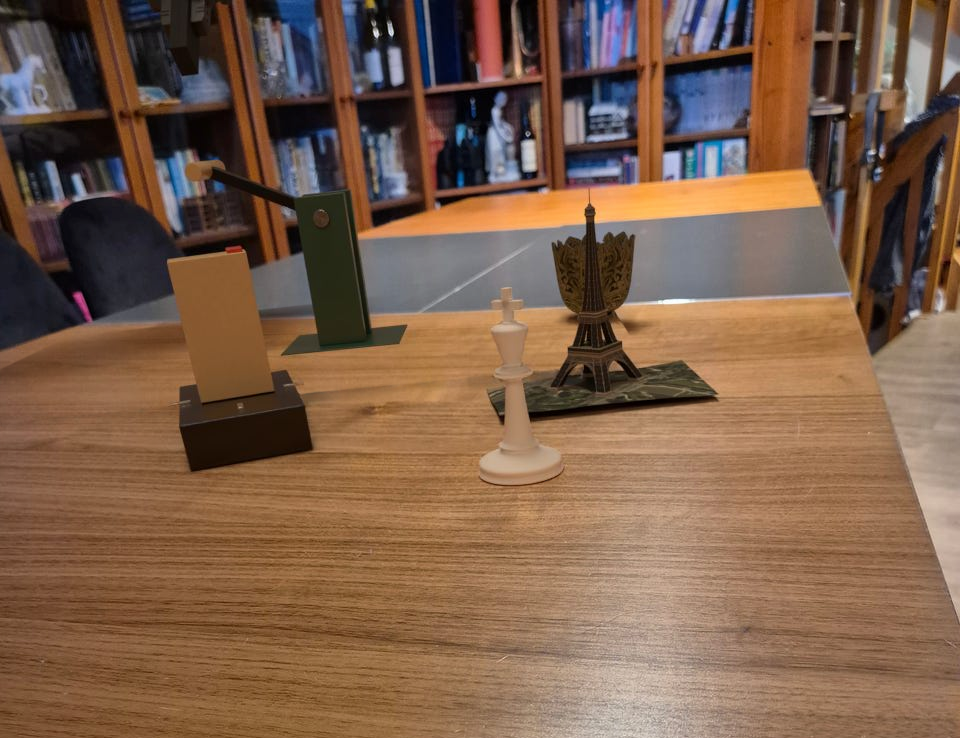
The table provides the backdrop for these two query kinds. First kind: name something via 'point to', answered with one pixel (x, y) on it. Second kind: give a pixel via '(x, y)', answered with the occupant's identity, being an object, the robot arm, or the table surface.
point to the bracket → (336, 277)
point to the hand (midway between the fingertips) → (183, 61)
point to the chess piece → (516, 410)
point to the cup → (612, 268)
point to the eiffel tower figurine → (602, 359)
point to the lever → (236, 182)
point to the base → (243, 425)
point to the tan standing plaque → (221, 324)
